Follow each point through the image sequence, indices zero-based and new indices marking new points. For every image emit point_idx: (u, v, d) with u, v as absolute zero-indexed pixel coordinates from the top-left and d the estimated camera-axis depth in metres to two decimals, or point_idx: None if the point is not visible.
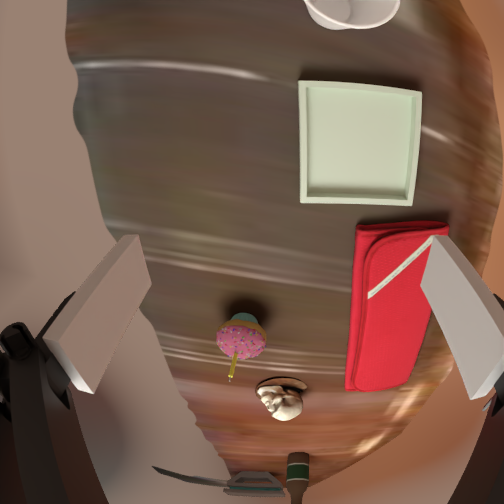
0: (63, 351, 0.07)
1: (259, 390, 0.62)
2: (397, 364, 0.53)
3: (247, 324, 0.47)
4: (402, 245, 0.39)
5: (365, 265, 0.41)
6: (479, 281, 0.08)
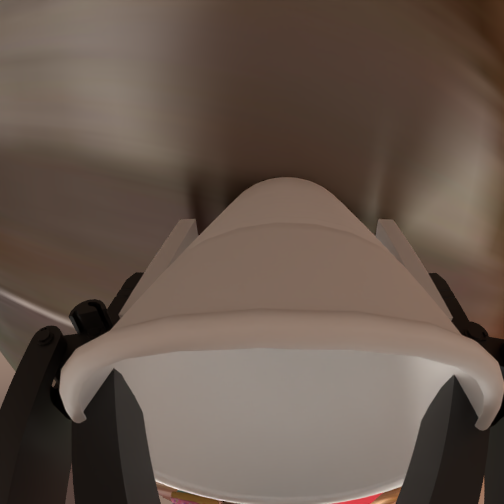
0: None
1: None
2: None
3: (197, 500, 0.35)
4: None
5: None
6: (414, 259, 0.10)
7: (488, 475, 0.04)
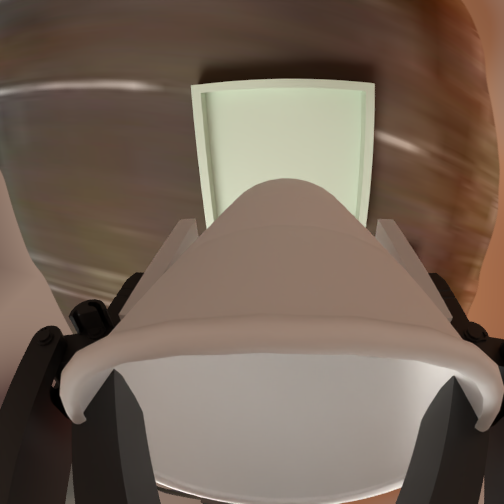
0: None
1: None
2: None
3: None
4: None
5: None
6: (414, 260, 0.10)
7: (488, 475, 0.04)
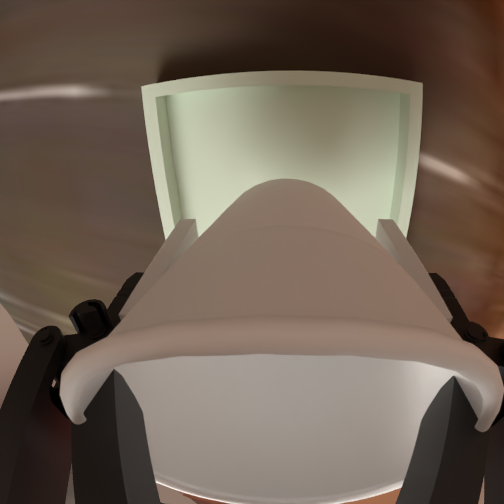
0: None
1: None
2: None
3: None
4: None
5: None
6: (414, 260, 0.10)
7: (488, 475, 0.04)
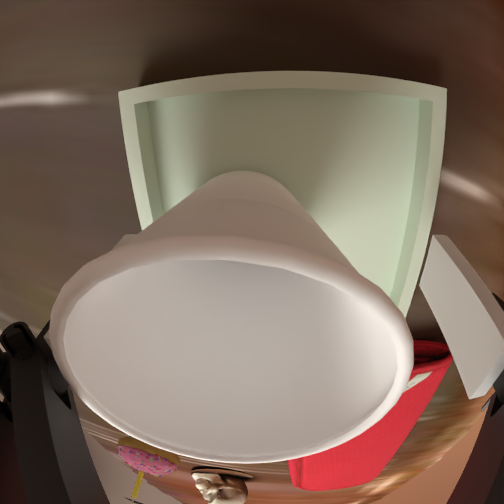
0: None
1: (193, 475, 0.43)
2: (356, 475, 0.35)
3: (147, 448, 0.29)
4: None
5: None
6: (478, 281, 0.08)
7: None
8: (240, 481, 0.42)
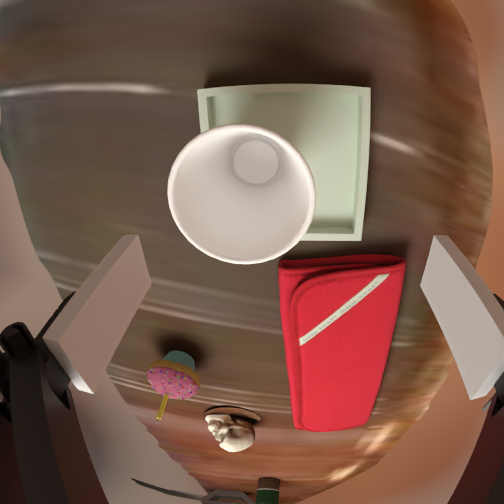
0: (63, 351, 0.07)
1: (206, 418, 0.54)
2: (350, 409, 0.47)
3: (175, 366, 0.40)
4: (338, 287, 0.32)
5: (291, 309, 0.35)
6: (479, 281, 0.08)
7: None
8: (248, 422, 0.54)
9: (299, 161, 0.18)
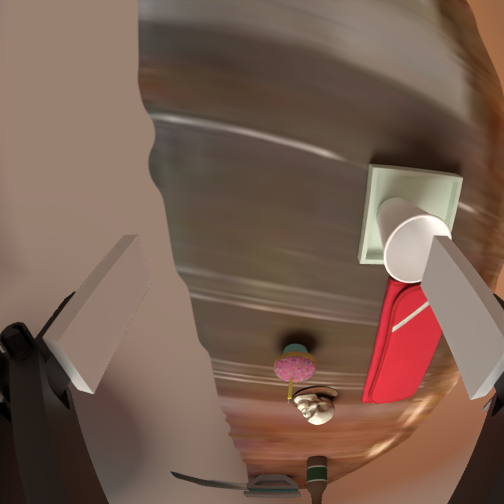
0: (63, 351, 0.07)
1: (296, 399, 0.68)
2: (408, 381, 0.61)
3: (303, 355, 0.54)
4: None
5: (394, 307, 0.49)
6: (479, 281, 0.08)
7: None
8: (329, 399, 0.68)
9: (448, 234, 0.32)
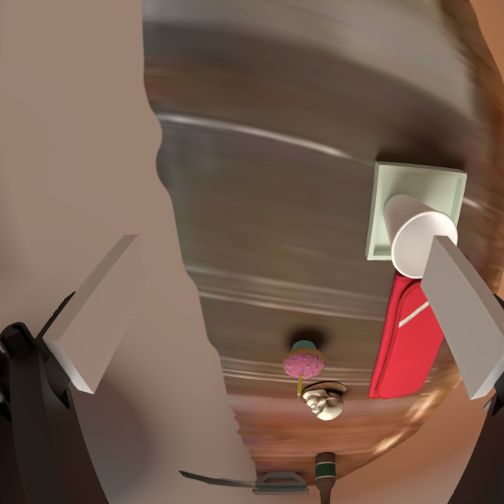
0: (63, 351, 0.07)
1: (305, 394, 0.68)
2: (414, 376, 0.61)
3: (312, 351, 0.55)
4: None
5: (400, 302, 0.49)
6: (479, 281, 0.08)
7: None
8: (338, 394, 0.68)
9: (454, 229, 0.32)
